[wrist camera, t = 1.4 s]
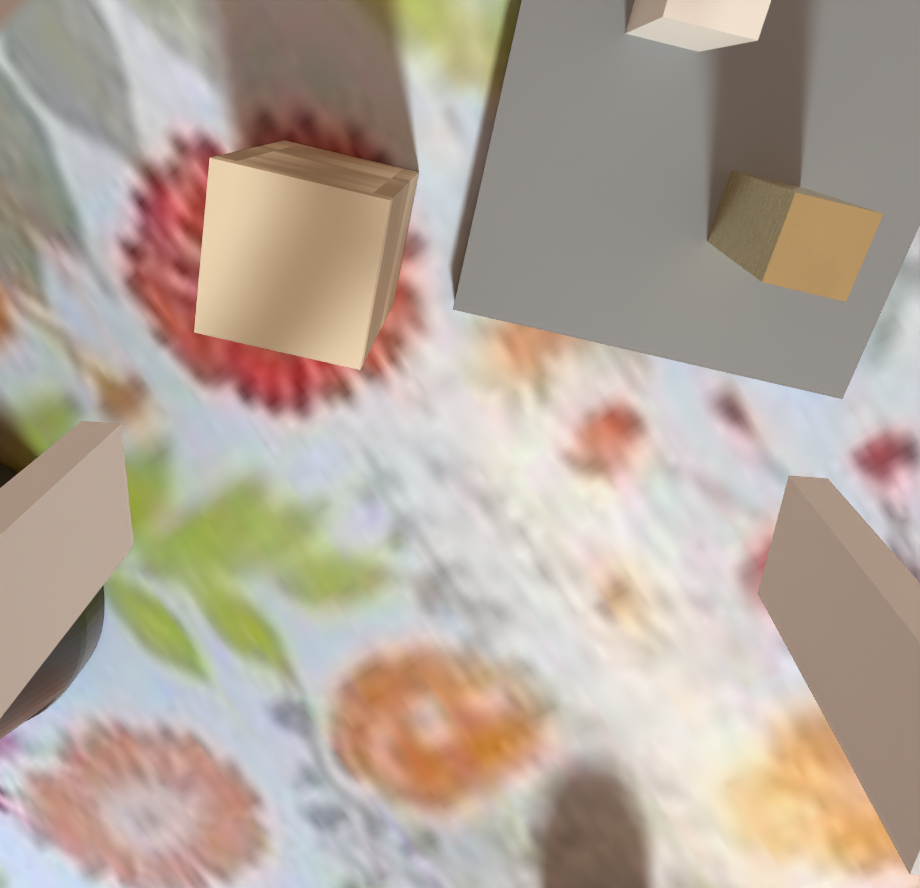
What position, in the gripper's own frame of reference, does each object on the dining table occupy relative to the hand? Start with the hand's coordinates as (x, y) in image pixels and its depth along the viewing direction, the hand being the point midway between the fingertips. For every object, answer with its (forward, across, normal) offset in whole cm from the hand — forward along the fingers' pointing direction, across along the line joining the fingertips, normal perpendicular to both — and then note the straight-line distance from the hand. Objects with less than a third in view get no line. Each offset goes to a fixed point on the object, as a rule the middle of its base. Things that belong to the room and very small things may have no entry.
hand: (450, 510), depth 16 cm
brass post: (+17, +10, +4) cm, 20 cm away
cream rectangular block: (+17, +6, +11) cm, 21 cm away
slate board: (+18, +8, +6) cm, 21 cm away
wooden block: (+18, -5, +2) cm, 19 cm away
